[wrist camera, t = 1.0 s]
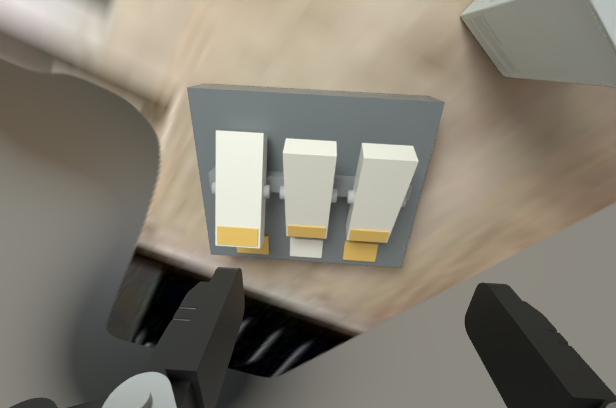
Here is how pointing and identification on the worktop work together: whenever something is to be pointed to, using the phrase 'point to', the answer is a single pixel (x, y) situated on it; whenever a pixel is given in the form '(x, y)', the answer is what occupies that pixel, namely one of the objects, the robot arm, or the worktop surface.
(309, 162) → the rocker mid
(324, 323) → the worktop surface
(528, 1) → the supplement box
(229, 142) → the rocker
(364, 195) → the rocker
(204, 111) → the console
